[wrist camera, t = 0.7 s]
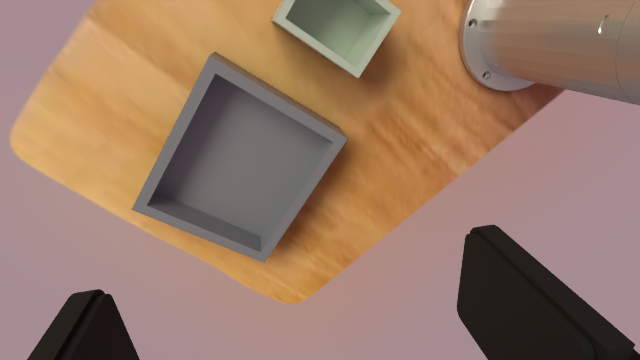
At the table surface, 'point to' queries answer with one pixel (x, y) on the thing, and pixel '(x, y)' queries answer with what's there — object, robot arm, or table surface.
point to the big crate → (238, 161)
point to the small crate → (339, 28)
